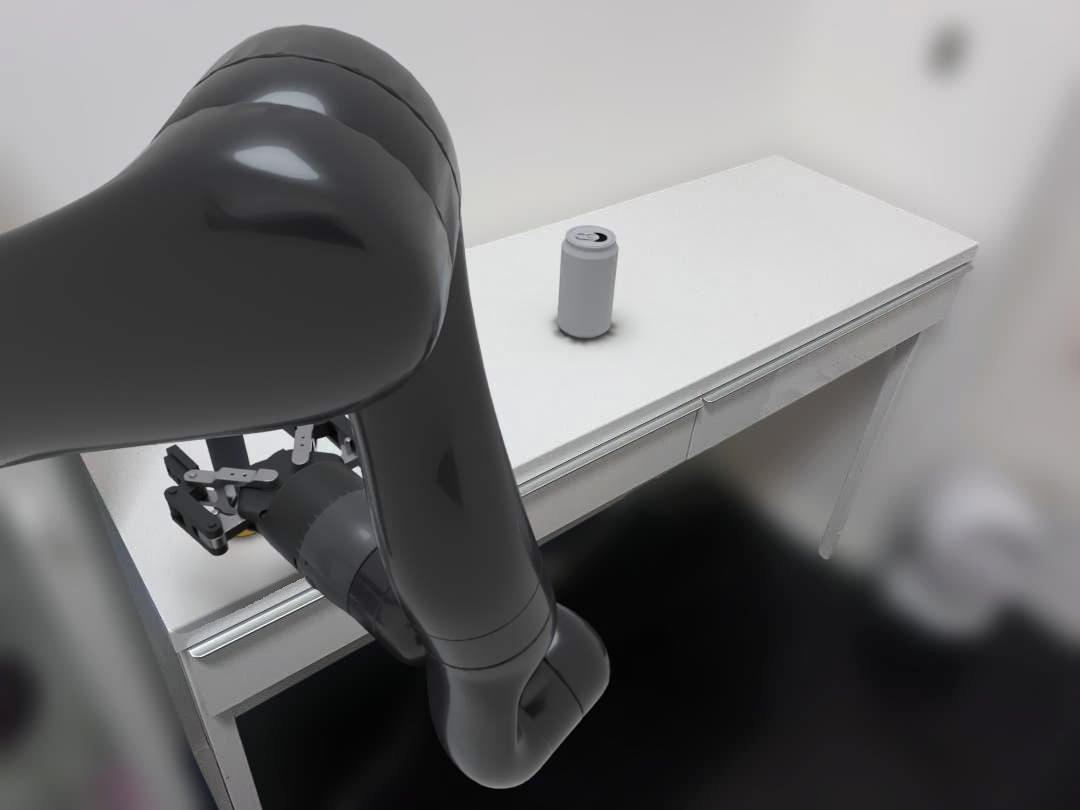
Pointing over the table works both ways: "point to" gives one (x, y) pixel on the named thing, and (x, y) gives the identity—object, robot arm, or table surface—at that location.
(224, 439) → the sponge wand
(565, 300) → the beverage can
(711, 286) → the table surface
